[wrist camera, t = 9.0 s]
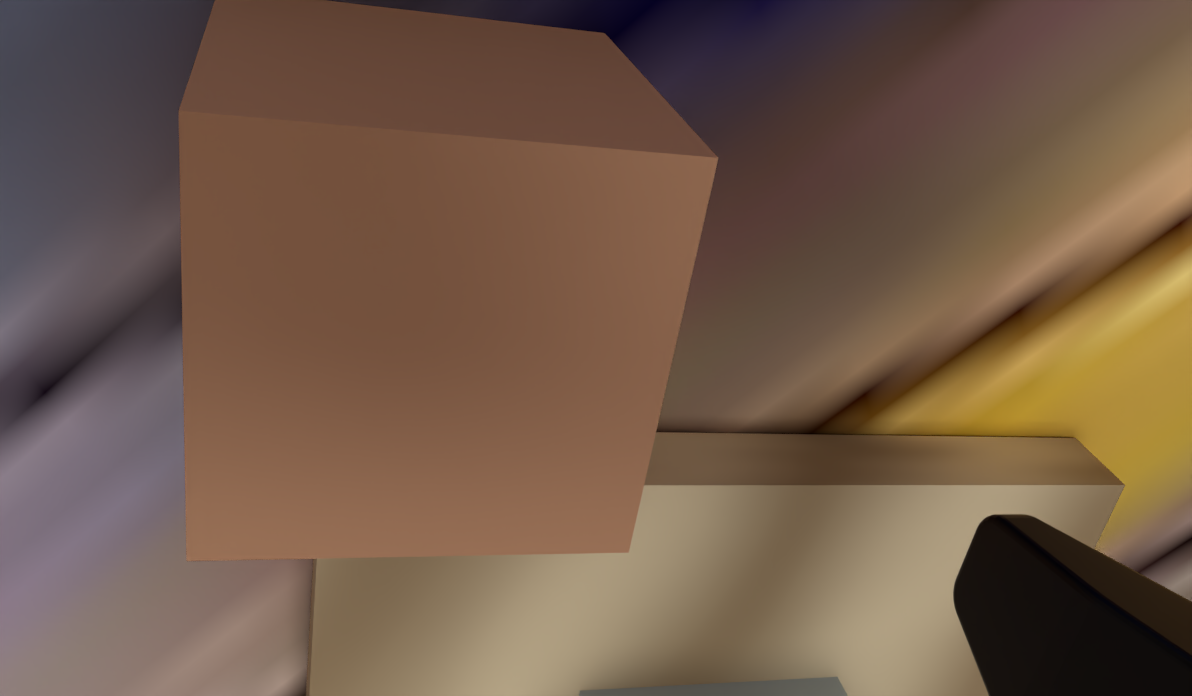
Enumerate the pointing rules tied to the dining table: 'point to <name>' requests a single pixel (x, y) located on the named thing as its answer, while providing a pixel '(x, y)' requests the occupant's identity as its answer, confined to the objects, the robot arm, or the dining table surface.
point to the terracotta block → (424, 283)
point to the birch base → (718, 575)
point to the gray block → (735, 689)
